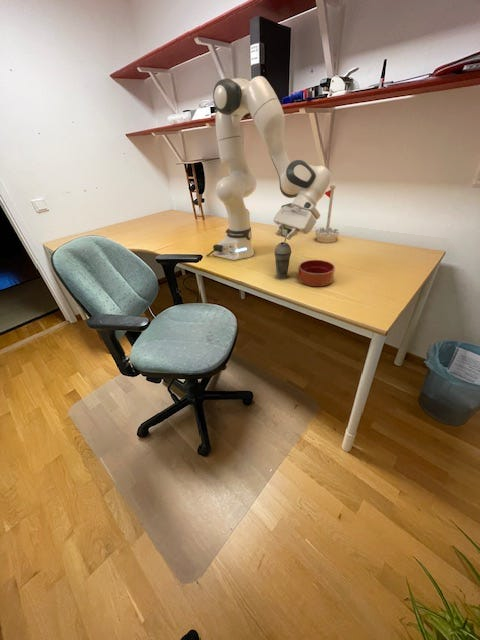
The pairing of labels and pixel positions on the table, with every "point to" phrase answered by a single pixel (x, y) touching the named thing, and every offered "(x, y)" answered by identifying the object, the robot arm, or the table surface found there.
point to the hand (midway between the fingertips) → (282, 236)
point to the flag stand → (328, 222)
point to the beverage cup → (282, 259)
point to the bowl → (316, 272)
